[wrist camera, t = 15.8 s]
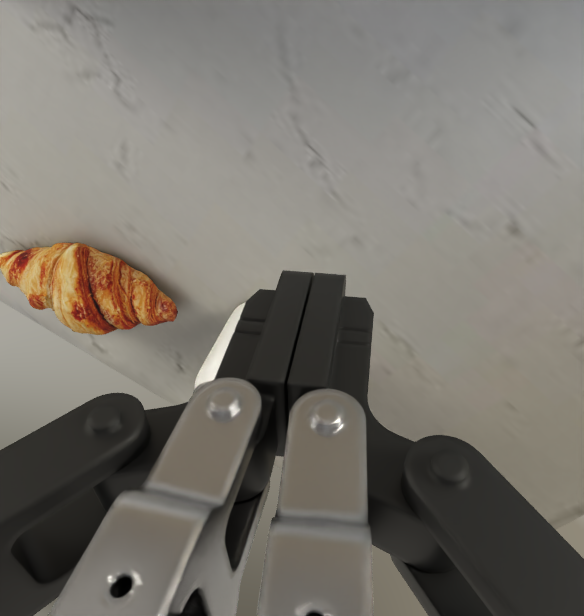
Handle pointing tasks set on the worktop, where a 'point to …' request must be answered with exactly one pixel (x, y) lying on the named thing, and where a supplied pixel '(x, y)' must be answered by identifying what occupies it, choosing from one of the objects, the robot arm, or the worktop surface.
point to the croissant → (86, 288)
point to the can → (218, 350)
